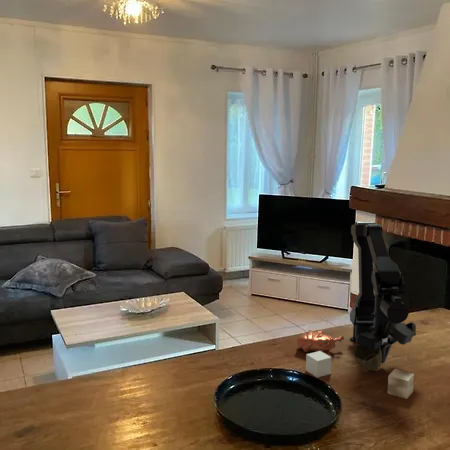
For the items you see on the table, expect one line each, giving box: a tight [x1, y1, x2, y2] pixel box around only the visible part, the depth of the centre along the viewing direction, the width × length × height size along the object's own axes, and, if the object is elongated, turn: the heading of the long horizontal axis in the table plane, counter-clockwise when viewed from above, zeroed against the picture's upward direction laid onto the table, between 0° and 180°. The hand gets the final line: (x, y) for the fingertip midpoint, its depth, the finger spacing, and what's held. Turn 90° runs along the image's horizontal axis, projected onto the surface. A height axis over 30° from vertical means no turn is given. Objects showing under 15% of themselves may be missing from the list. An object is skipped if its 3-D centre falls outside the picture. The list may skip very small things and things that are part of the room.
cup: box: [353, 343, 383, 372], centre depth 141 cm, size 8×7×8 cm
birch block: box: [386, 368, 415, 400], centre depth 130 cm, size 5×5×5 cm
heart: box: [296, 329, 345, 357], centre depth 157 cm, size 6×12×15 cm
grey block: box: [305, 351, 333, 378], centre depth 141 cm, size 5×5×5 cm
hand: (382, 362), depth 145 cm, fingers closed
